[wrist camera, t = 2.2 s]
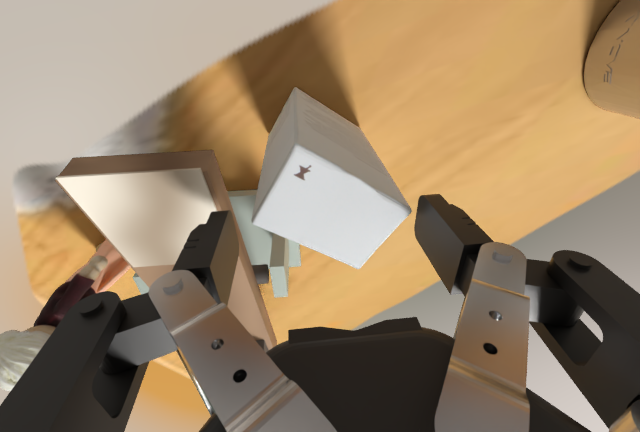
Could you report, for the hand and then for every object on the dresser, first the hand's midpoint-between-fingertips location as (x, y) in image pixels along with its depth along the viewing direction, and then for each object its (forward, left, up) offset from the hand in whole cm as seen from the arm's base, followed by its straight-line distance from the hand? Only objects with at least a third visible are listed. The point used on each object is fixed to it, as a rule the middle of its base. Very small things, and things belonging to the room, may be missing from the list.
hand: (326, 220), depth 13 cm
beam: (+8, +8, -6) cm, 13 cm away
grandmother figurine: (+18, +9, -12) cm, 23 cm away
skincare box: (0, 0, -12) cm, 12 cm away
